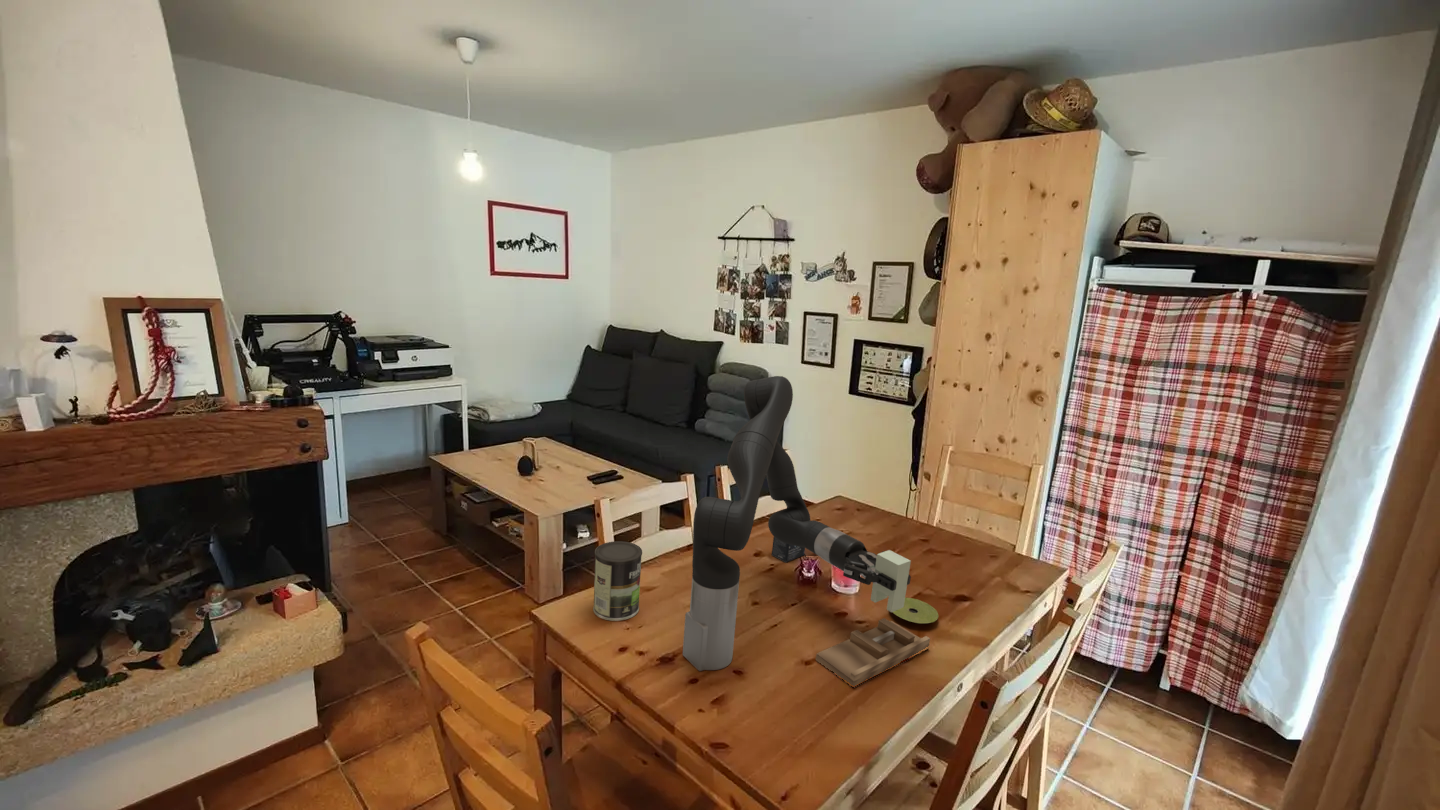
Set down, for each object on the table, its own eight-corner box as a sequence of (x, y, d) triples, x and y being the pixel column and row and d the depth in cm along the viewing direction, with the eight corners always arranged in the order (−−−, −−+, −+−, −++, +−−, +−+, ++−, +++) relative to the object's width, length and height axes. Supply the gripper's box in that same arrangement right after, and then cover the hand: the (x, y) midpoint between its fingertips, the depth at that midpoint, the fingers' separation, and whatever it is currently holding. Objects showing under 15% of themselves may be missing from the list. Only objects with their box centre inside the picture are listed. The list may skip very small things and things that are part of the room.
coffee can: (645, 601, 141) (648, 544, 138) (630, 625, 131) (632, 564, 129) (603, 593, 143) (605, 537, 140) (585, 616, 133) (587, 557, 130)
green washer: (877, 607, 146) (878, 600, 146) (916, 601, 150) (917, 594, 150) (907, 633, 136) (908, 625, 136) (947, 626, 140) (949, 619, 140)
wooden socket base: (853, 688, 116) (855, 671, 116) (815, 660, 124) (817, 644, 123) (928, 649, 131) (930, 635, 130) (890, 626, 138) (892, 612, 138)
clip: (891, 612, 124) (898, 565, 122) (870, 600, 128) (877, 554, 126) (903, 607, 127) (910, 560, 124) (882, 595, 131) (889, 550, 128)
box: (786, 563, 165) (790, 526, 163) (771, 555, 169) (774, 519, 167) (804, 555, 171) (808, 520, 169) (789, 548, 175) (793, 513, 173)
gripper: (819, 540, 132) (882, 575, 119) (862, 527, 141) (926, 558, 127) (815, 572, 134) (877, 609, 121) (858, 557, 142) (920, 591, 129)
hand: (902, 583), depth 124 cm, fingers closed on clip, 4 cm apart
